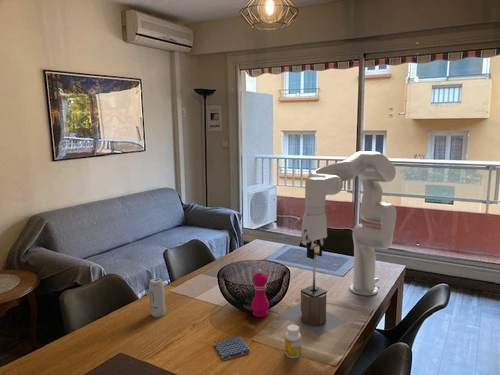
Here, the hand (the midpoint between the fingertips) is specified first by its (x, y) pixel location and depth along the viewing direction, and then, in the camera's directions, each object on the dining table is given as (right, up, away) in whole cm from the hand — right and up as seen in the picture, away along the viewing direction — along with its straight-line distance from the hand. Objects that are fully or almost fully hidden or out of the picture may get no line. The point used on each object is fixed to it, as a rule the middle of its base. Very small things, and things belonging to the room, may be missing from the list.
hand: (314, 256), depth 148 cm
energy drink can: (-63, -27, +13) cm, 69 cm away
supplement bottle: (-10, -31, -15) cm, 36 cm away
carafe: (0, -26, +5) cm, 26 cm away
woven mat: (-31, -31, -12) cm, 45 cm away
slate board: (0, -27, +7) cm, 27 cm away
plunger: (0, -16, +3) cm, 16 cm away
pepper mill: (-20, -26, +11) cm, 35 cm away
